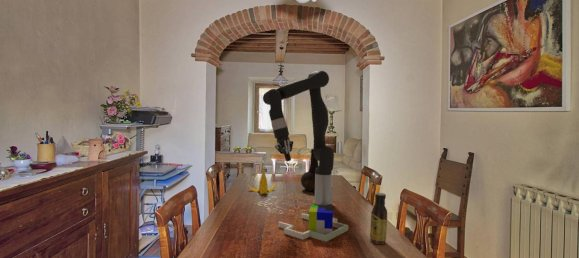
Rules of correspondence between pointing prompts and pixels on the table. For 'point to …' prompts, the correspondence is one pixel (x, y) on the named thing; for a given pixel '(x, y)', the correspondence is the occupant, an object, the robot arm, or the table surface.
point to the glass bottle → (310, 174)
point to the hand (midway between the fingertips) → (288, 160)
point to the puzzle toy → (321, 219)
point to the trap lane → (290, 231)
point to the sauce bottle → (379, 220)
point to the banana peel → (263, 185)
